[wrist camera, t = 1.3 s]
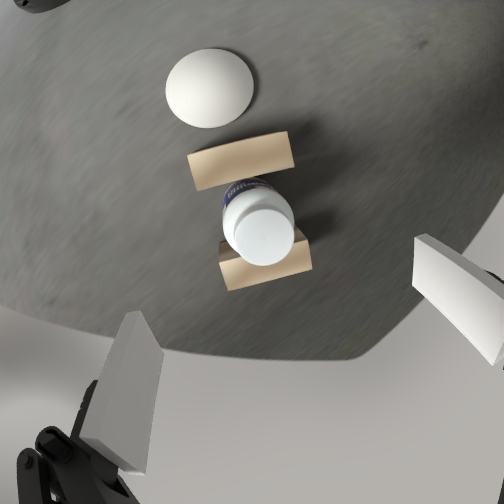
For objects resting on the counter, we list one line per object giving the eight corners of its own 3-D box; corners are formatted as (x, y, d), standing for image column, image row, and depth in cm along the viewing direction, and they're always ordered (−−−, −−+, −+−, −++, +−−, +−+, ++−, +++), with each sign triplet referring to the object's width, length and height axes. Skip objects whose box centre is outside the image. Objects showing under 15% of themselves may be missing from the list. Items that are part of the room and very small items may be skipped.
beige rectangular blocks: (192, 152, 24) (187, 155, 20) (275, 132, 24) (286, 131, 20) (226, 268, 29) (228, 290, 25) (299, 249, 29) (312, 268, 25)
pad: (159, 64, 20) (157, 62, 20) (242, 43, 20) (242, 41, 20) (178, 138, 23) (176, 138, 23) (261, 116, 23) (262, 116, 23)
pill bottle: (274, 173, 26) (303, 193, 17) (278, 225, 28) (306, 269, 19) (218, 179, 25) (217, 203, 17) (225, 232, 28) (229, 280, 19)
